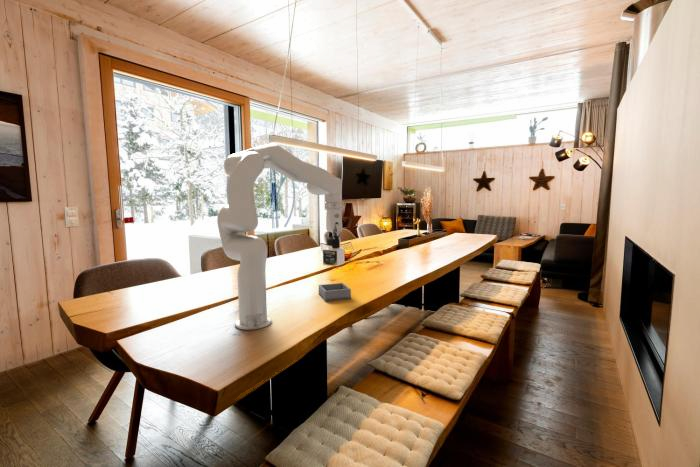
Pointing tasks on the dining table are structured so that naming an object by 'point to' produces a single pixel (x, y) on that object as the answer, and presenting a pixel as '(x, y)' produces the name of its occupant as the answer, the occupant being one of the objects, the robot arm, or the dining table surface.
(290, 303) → the dining table surface
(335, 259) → the medicine bottle
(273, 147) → the robot arm
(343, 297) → the grey square tray
